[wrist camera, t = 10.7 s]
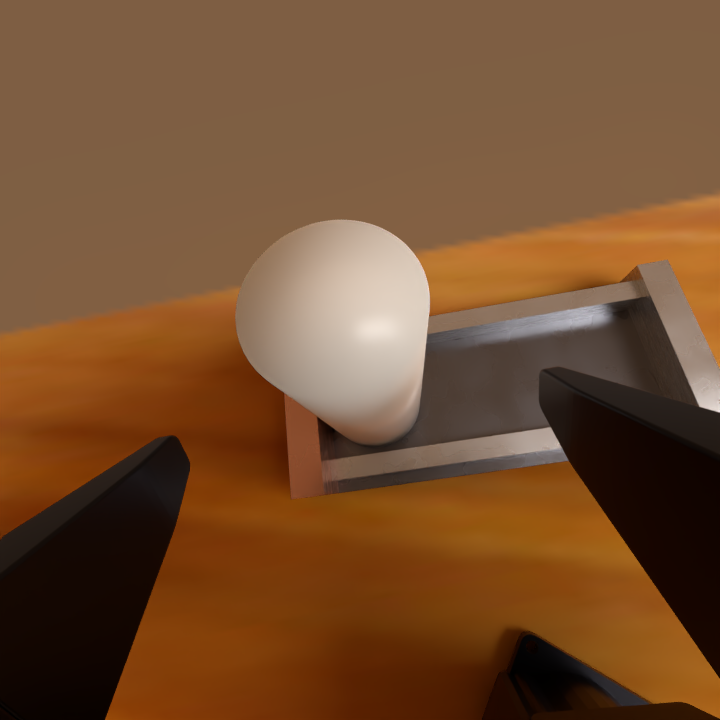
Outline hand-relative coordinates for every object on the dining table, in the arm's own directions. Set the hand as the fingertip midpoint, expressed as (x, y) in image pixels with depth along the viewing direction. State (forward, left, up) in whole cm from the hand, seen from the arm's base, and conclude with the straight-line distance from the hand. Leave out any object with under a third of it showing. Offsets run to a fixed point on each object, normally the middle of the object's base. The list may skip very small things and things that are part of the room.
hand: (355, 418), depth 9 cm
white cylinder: (+2, -2, -11) cm, 12 cm away
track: (-3, -6, -12) cm, 14 cm away
